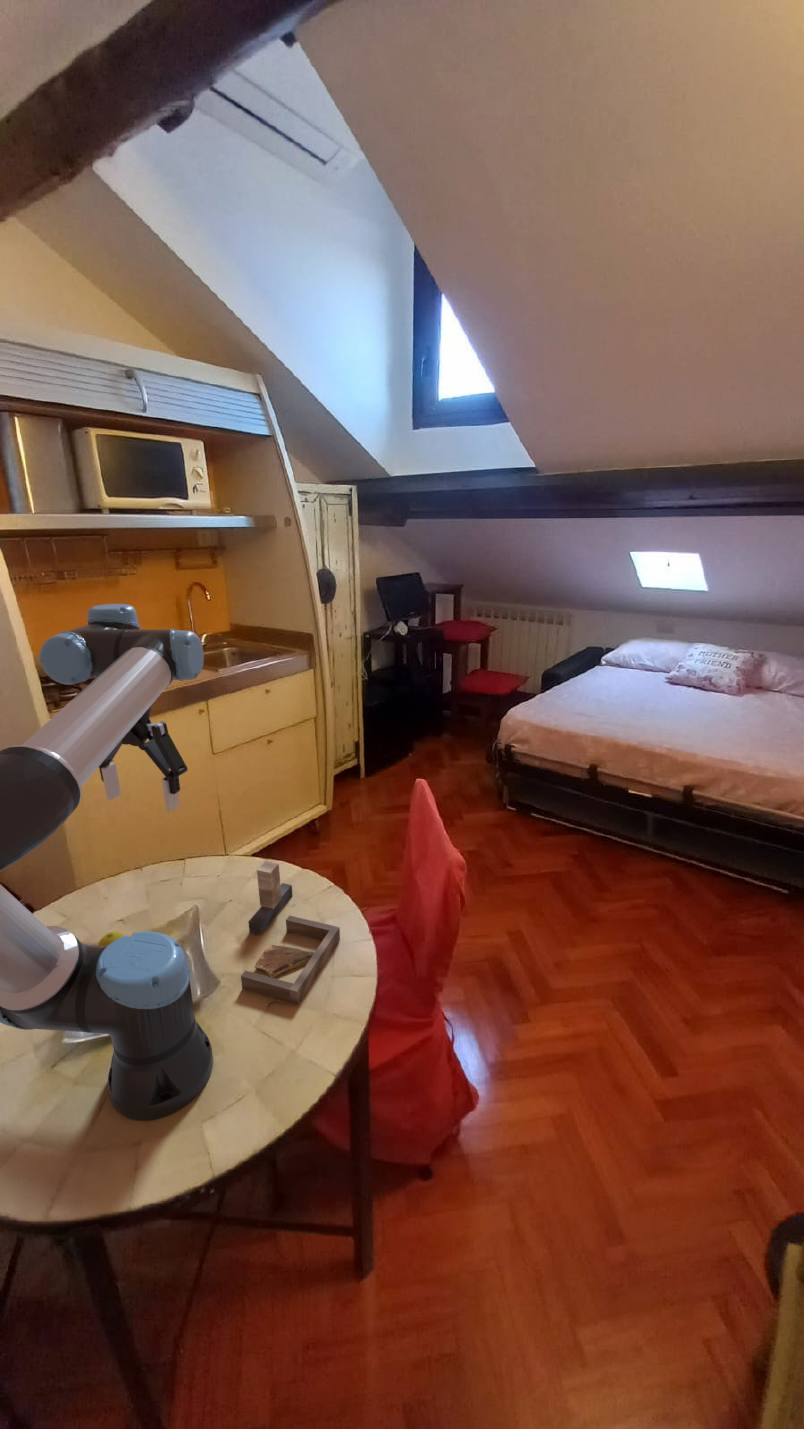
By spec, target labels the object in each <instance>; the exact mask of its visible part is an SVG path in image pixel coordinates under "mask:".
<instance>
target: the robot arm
mask: <svg viewBox="0 0 804 1429" xmlns="http://www.w3.org/2000/svg"><path fill="white" fill-rule="evenodd" d="M86 614H87V616H86V617H87V621H86V622H87V624H86V625H83V626H81V627H76V628H74V629H70V630H64V631H61V632H59V633H58V634H56V635H54V636H52V637H49V638H48V639H47V640H45V642H44V641H43V644H42V645H41V647H40V651H39V661H40V663H41V664H40V665H41V667H42V670H43V671H44V673H45V674H46V675H47V676H48V677H49V678H50V679H52V680H53V681H55V682H56V683H58V684H62V685H67V686H71V685H75V684H78V683H81V684H82V683H84V682H86V681H87V680H89V679H93V680H92V681H91V682H90V683H89V684H88V685H87V686H86V687H85V688H84V689H82V690H81V691H80V692H79V693H77V695H76V696H75V697H74V698H72V699H71V700H70V701H69V702H68V703H67V704H65V706H63V707H62V708H61V709H60V710H59V711H58V712H57V713H56V714H55V715H53V717H51V718H50V719H49V720H48V721H47V722H46V723H45V724H43V726H41V727H40V728H39V729H38V730H37V731H36V732H34V733H33V734H32V736H30V737H29V738H28V739H27V740H26V741H25V742H23V743H22V744H13V745H10V746H6V747H4V748H2V749H0V872H2V871H4V870H6V869H8V868H9V867H10V866H12V865H13V864H15V863H18V861H20V860H21V859H23V858H25V857H26V856H27V855H29V854H30V853H31V852H33V851H34V850H35V849H37V848H38V847H40V845H42V844H43V843H44V842H45V841H46V840H47V839H49V837H51V836H52V835H53V834H55V833H56V832H57V830H58V829H59V828H60V827H61V826H62V825H63V824H64V823H65V822H66V821H67V820H68V819H69V817H70V816H71V815H72V814H73V812H74V811H75V810H76V809H77V808H78V806H79V805H80V803H81V800H82V797H83V796H82V795H83V794H82V793H83V792H82V791H83V790H82V787H83V786H84V785H85V783H87V781H88V780H89V779H90V777H91V776H92V775H93V774H94V773H95V771H96V770H97V769H99V774H100V778H101V781H102V782H103V785H104V791H105V796H106V800H107V801H112V800H114V799H115V798H118V797H120V796H121V795H122V792H121V791H122V790H121V787H120V786H121V785H120V781H119V776H118V770H117V763H114V761H115V760H114V758H115V756H116V755H117V753H118V751H119V750H120V748H121V747H122V745H126V746H127V745H130V746H133V747H138V749H139V750H141V751H144V752H145V753H146V755H147V756H148V757H149V758H150V760H151V761H152V762H153V763H154V764H155V765H156V767H157V768H158V769H159V770H160V771H161V773H162V774H163V775H164V776H163V777H162V778H161V781H162V782H161V783H162V788H163V795H164V801H165V802H164V804H165V807H166V812H169V813H170V812H172V811H174V810H175V809H176V808H178V807H179V806H181V802H180V796H179V792H180V791H181V786H180V778H179V776H181V775H183V774H184V773H186V772H188V771H189V770H188V766H187V764H186V763H185V761H184V759H183V757H182V756H181V754H180V752H179V750H178V748H177V747H176V745H175V743H174V741H173V739H172V737H171V736H170V734H169V730H168V726H167V723H166V722H165V721H160V722H159V723H152V721H151V719H150V714H151V712H152V705H153V704H154V703H155V701H156V700H157V699H158V698H159V697H160V696H161V695H162V693H163V692H164V691H165V690H166V689H167V688H168V687H169V686H170V684H172V683H173V681H179V682H183V681H191V680H195V679H197V678H198V677H199V676H200V674H201V672H202V670H203V667H204V659H205V654H204V648H203V647H204V646H203V644H202V641H201V638H200V637H199V636H198V634H196V633H195V632H194V631H190V630H179V629H174V628H170V629H141V625H140V624H139V619H138V615H137V610H136V609H135V607H134V606H132V605H130V604H128V603H127V604H126V603H108V604H100V605H95V606H91V607H90V608H88V610H87V612H86ZM147 740H148V741H147ZM190 977H191V972H190V968H189V964H188V963H187V959H186V956H185V951H184V950H183V948H182V946H181V945H180V944H179V942H178V941H177V940H176V939H175V938H173V937H171V936H170V935H167V934H165V933H162V932H157V931H138V932H137V931H136V932H133V933H132V935H131V936H127V935H124V936H123V937H121V938H119V939H117V940H115V941H114V942H112V943H111V944H109V945H108V946H98V945H94V944H93V945H92V944H85V943H83V942H82V941H81V940H79V939H78V937H77V936H75V935H74V934H73V933H72V932H71V931H69V930H68V929H67V928H65V927H62V926H57V925H45V924H44V922H42V921H41V920H39V919H38V917H37V916H35V915H34V914H33V913H32V912H31V911H30V910H29V909H28V908H27V907H26V906H25V905H24V904H23V903H21V902H20V901H19V900H18V899H17V898H16V897H14V895H13V894H11V892H10V891H9V890H7V889H6V888H5V887H4V886H3V885H2V884H1V883H0V1024H3V1025H5V1026H8V1027H12V1028H15V1029H19V1030H25V1031H26V1030H29V1031H30V1030H47V1031H59V1032H60V1031H64V1032H74V1033H76V1032H77V1033H79V1032H80V1033H88V1034H89V1033H90V1034H104V1035H109V1036H110V1037H111V1038H110V1039H111V1043H112V1048H113V1052H112V1056H111V1062H110V1068H109V1071H108V1075H107V1076H108V1077H107V1091H108V1093H109V1097H110V1102H111V1105H112V1106H113V1108H114V1109H115V1110H116V1112H118V1113H119V1114H120V1115H121V1116H123V1117H125V1118H128V1119H131V1120H135V1121H151V1120H156V1119H161V1118H164V1117H167V1116H169V1115H171V1114H174V1113H175V1112H177V1111H179V1110H181V1109H182V1108H184V1107H185V1106H187V1105H188V1104H189V1103H191V1102H192V1101H193V1100H194V1099H195V1098H196V1097H197V1096H198V1095H199V1094H200V1093H201V1092H202V1090H203V1089H204V1088H205V1086H206V1084H207V1083H208V1081H209V1079H210V1076H211V1074H212V1071H213V1065H214V1057H213V1056H214V1055H213V1048H212V1045H211V1041H210V1039H209V1037H208V1036H207V1033H205V1031H204V1029H203V1028H202V1027H201V1025H200V1024H199V1023H198V1021H197V1020H196V1016H195V1008H194V1003H193V995H192V993H193V992H192V989H191V988H192V987H191V980H190Z"/></svg>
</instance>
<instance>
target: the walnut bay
mask: <svg viewBox="0 0 804 1429" xmlns="http://www.w3.org/2000/svg"><path fill="white" fill-rule="evenodd" d="M285 927H286V932H287V933H290V934H295V935H297V936H303V937H307V938H311V939H315V940H319V941H321V943H320V944H319V945H318V947H317V948H316V950H315V951H314V952H315V953H314V954H313V956H312V957H311V959H310V960H309V962H308V963H306V964H305V966H304V968H303V969H302V971H301V972H300V973H299V975H298V976H297V978H296V979H295V981H294V982H289V981H286V980H282V979H279V978H276V977H274V978H272V977H271V976H269V975H268V976H267V975H264V974H260V973H256V972H253V971H248V970H244V971H243V973H242V974H241V975H240V981H241V982H240V983H241V990H244V991H246V992H247V991H248V992H251V993H255V994H258V995H262V996H265V997H269V998H272V999H276V1000H279V1001H283V1002H286V1003H290V1004H293V1005H297V1006H299V1004H300V1003H301V1002H302V999H304V997H305V995H306V993H307V992H308V990H309V989H310V987H311V986H312V984H313V982H314V980H315V979H316V978H317V977H318V975H319V973H320V971H321V970H322V968H324V965H325V963H326V962H327V961H328V959H329V957H330V956H331V954H332V953H333V951H334V949H335V948H336V947H337V945H338V943H339V942H340V940H341V932H340V931H341V930H340V927H339V926H335V925H332V924H328V923H323V922H320V921H315V920H310V919H306V918H302V917H297V916H293V915H288V917H286V919H285Z"/></svg>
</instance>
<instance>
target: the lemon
mask: <svg viewBox="0 0 804 1429" xmlns="http://www.w3.org/2000/svg"><path fill="white" fill-rule="evenodd" d="M123 936H125V934H123V933H122V932H119V931H111V932H107V933H106V934H105V935H104V936H102V937H101V939H100V940H99V942H98V944H97V946H108V945H109V944H111V943H112V942H114V941H115V940H117V939H119V938H121V937H123Z"/></svg>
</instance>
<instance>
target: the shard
mask: <svg viewBox="0 0 804 1429" xmlns="http://www.w3.org/2000/svg"><path fill="white" fill-rule="evenodd" d="M314 953H315V951H311V950H309V951H308V950H304V949H300V948H295V947H292V946H285V945H274V944H271V945H268V946H267V948H265V949H264V951H263V952H262V954H261V956H260V957H259V959H258V960H257V961H256V962H255V964H254V969H257V970H262V971H264V972H265V973H267V975H268V977H271V978H276V977H277V976H280V975H281V974H283V973H285V972H287V971H289V970H293V969H296V968H299V967H300V966H301V967H302V966H303V965H307V963H308V962H309V960H310V959H311V957H312V956H313V954H314Z"/></svg>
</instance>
